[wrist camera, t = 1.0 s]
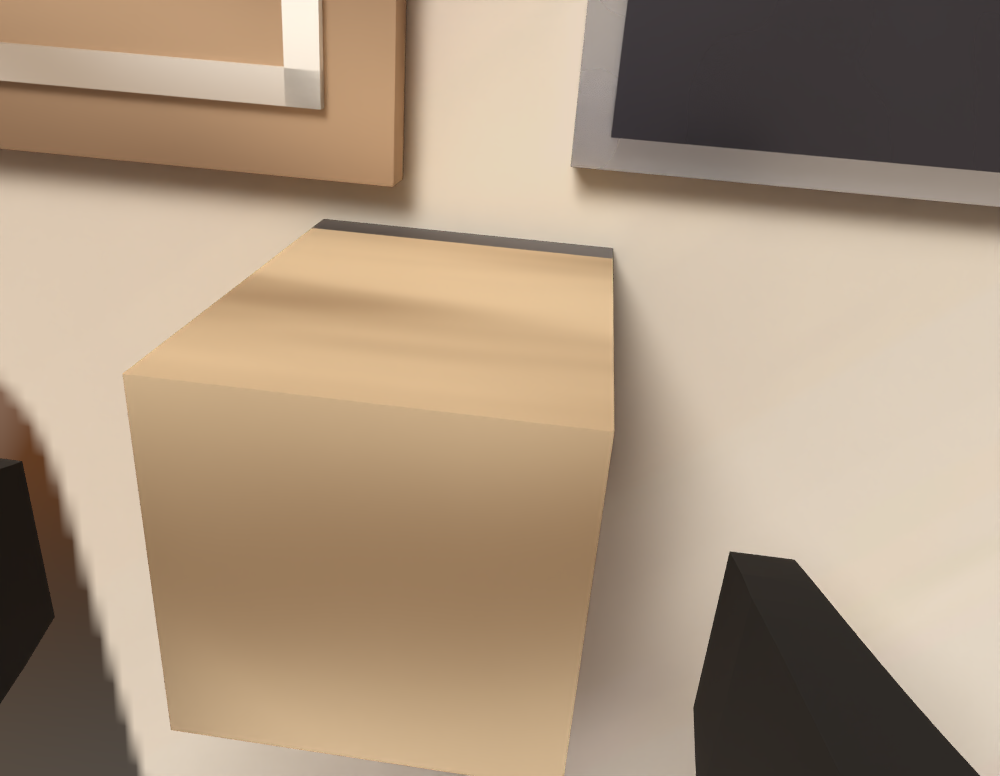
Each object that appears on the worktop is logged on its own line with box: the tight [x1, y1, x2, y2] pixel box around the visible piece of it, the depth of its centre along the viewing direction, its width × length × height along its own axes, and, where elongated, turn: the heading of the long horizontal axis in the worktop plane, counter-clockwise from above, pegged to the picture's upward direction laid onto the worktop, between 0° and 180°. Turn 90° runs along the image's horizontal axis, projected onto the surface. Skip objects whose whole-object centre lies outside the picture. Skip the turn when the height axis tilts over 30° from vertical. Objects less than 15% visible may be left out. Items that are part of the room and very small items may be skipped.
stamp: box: [123, 219, 614, 776], centre depth 11 cm, size 4×4×6 cm
